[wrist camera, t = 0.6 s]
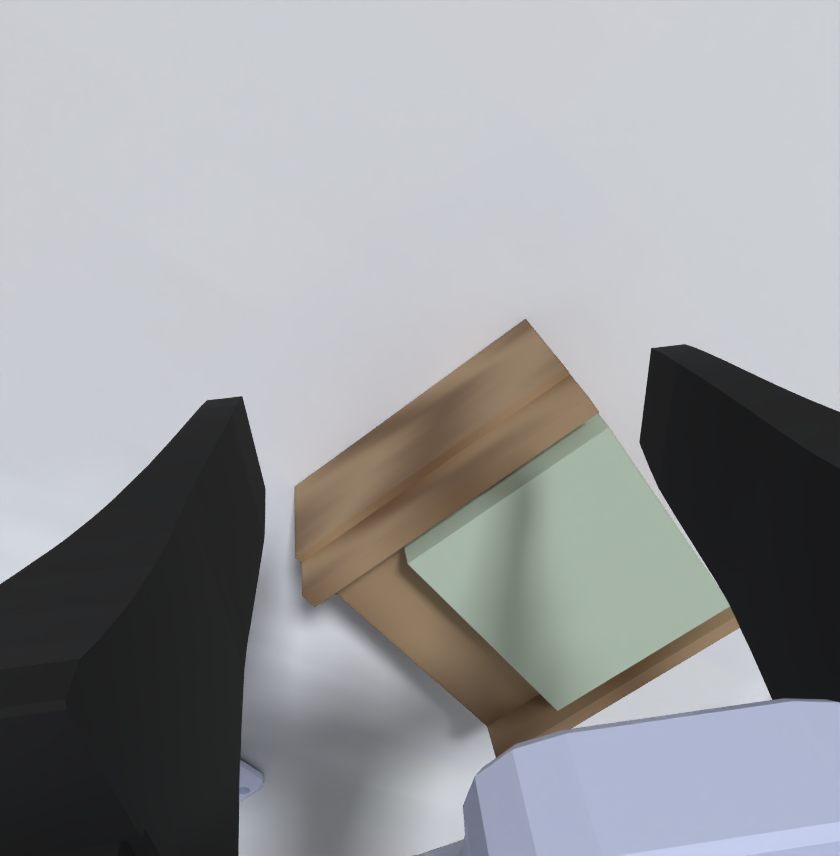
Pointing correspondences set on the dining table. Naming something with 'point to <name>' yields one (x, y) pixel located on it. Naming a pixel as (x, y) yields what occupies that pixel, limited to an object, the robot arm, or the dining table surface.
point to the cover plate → (569, 566)
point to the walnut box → (438, 498)
